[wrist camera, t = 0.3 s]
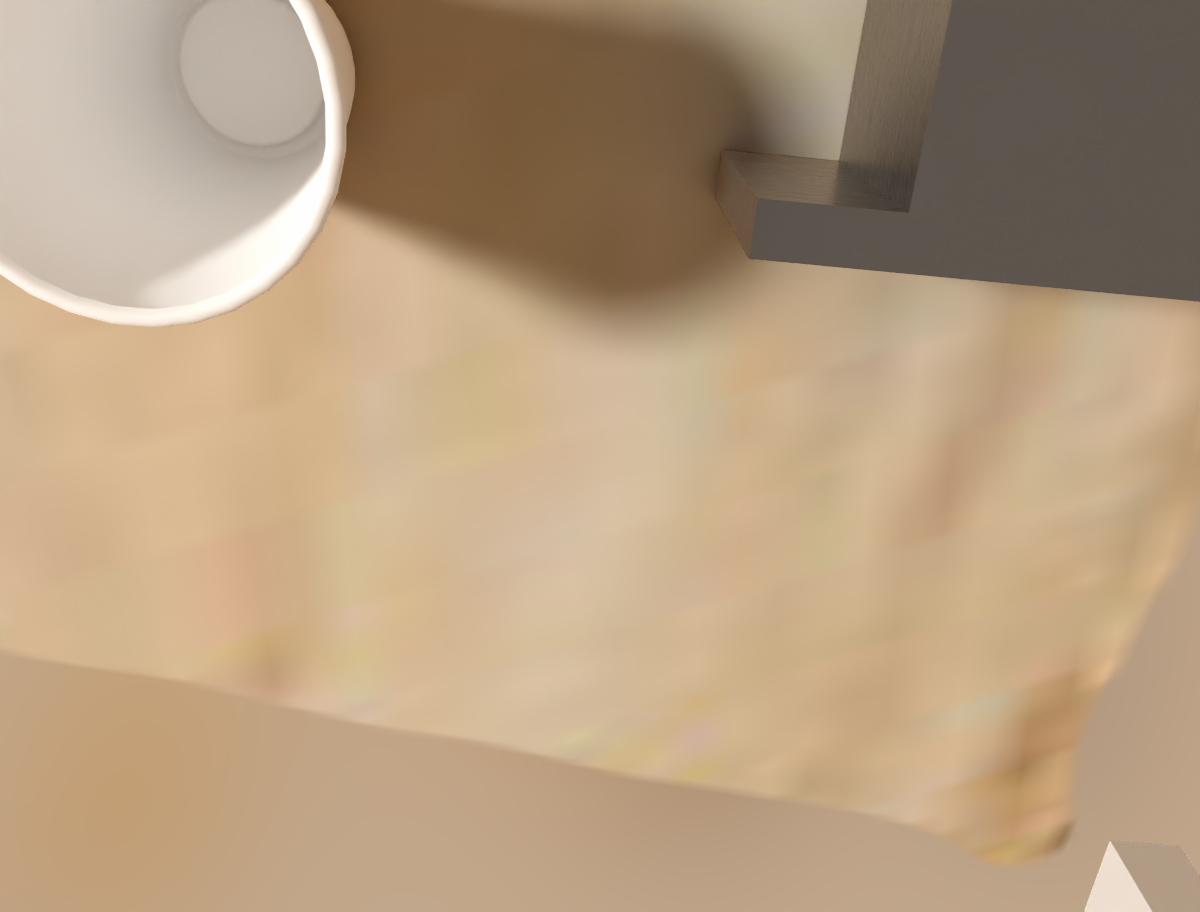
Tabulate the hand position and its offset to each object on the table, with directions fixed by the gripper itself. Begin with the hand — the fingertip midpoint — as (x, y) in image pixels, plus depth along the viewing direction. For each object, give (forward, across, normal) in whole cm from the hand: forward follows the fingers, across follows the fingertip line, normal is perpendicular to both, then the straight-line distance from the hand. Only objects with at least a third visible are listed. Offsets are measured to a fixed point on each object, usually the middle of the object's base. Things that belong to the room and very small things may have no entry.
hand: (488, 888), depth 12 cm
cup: (+27, -10, +5) cm, 29 cm away
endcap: (+27, +12, +9) cm, 31 cm away
